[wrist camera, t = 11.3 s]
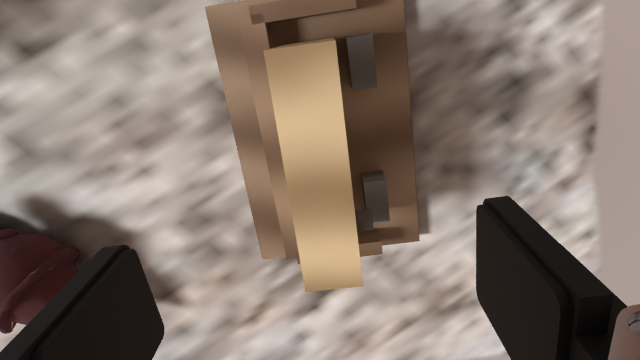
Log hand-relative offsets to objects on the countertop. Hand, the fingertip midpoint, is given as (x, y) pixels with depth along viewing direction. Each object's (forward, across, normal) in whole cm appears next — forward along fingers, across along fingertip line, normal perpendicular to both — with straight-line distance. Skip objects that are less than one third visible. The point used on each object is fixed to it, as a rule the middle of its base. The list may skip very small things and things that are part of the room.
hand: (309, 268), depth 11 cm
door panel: (+17, 0, +1) cm, 17 cm away
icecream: (+18, +22, +8) cm, 30 cm away
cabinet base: (+18, 0, +1) cm, 18 cm away
